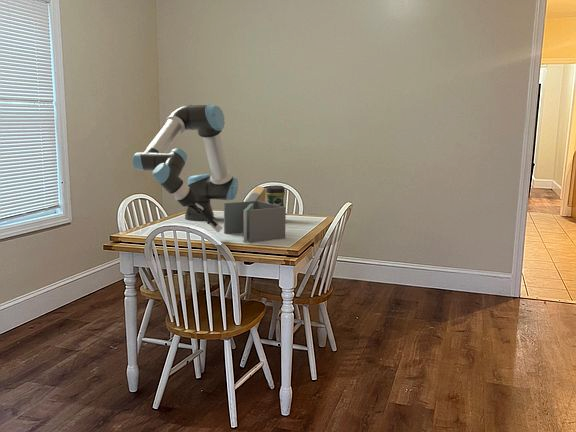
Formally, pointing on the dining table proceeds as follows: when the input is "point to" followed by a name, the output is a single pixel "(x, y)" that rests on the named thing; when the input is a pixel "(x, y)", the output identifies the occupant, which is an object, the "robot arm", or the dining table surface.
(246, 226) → the side door
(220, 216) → the dining table surface
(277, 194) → the coffee jar
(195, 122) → the robot arm
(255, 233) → the charcoal box
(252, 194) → the sandwich container
